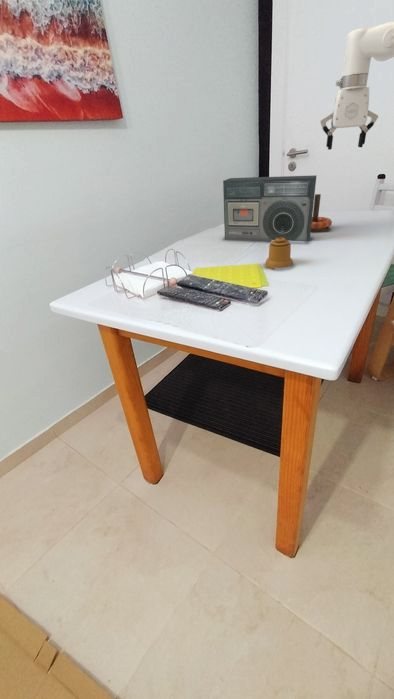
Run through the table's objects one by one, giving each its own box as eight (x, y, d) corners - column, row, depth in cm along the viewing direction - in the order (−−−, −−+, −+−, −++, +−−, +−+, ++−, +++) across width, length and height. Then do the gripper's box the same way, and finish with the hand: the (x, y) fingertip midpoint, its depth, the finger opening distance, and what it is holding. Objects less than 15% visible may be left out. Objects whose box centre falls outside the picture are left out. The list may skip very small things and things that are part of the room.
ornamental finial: (284, 273, 92) (260, 268, 96) (296, 265, 96) (273, 261, 101) (286, 243, 87) (261, 240, 92) (299, 236, 92) (275, 234, 96)
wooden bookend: (324, 226, 130) (328, 191, 124) (328, 232, 123) (333, 195, 116) (300, 227, 132) (303, 193, 125) (302, 233, 125) (306, 197, 118)
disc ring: (328, 222, 130) (329, 215, 129) (333, 228, 121) (334, 221, 120) (299, 223, 132) (300, 216, 131) (302, 230, 123) (303, 223, 122)
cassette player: (224, 241, 124) (223, 180, 113) (231, 236, 129) (230, 178, 118) (306, 244, 112) (312, 178, 102) (309, 239, 117) (316, 175, 107)
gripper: (326, 85, 102) (319, 150, 111) (388, 78, 99) (375, 146, 108) (322, 88, 108) (316, 149, 117) (380, 81, 105) (369, 145, 114)
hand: (344, 148), depth 112 cm, fingers open, 9 cm apart
